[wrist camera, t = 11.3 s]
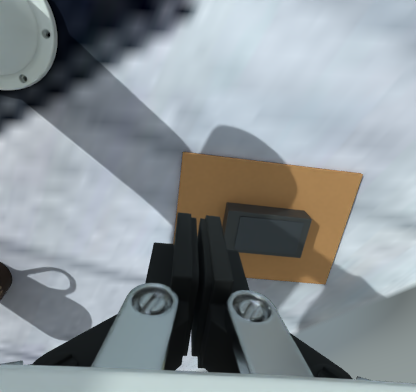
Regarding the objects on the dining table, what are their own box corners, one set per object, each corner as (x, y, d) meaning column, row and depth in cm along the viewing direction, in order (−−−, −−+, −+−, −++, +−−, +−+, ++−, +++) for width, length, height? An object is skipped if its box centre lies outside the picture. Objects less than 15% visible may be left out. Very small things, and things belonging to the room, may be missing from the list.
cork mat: (170, 269, 44) (170, 271, 43) (183, 151, 37) (182, 152, 37) (324, 282, 46) (325, 284, 45) (361, 173, 39) (363, 174, 39)
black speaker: (221, 251, 39) (301, 259, 40) (228, 210, 37) (312, 219, 38) (219, 240, 42) (294, 247, 43) (226, 201, 39) (304, 210, 40)
